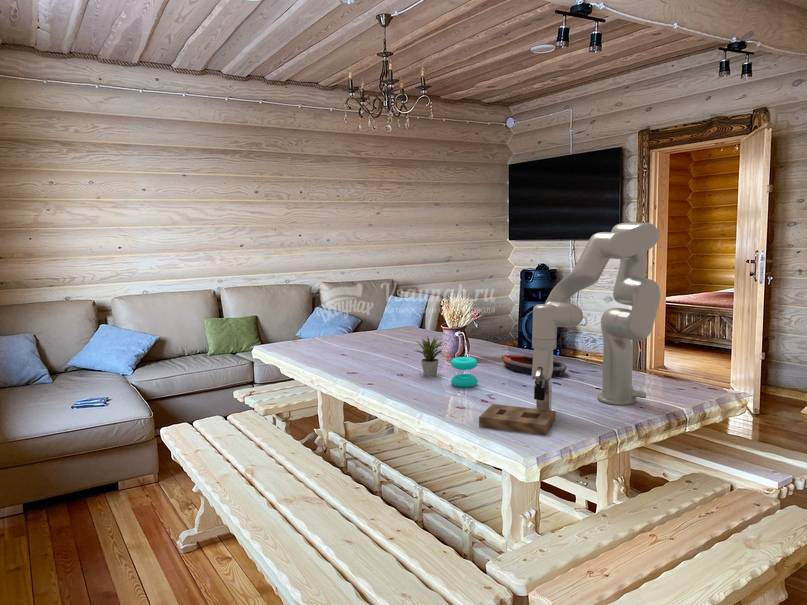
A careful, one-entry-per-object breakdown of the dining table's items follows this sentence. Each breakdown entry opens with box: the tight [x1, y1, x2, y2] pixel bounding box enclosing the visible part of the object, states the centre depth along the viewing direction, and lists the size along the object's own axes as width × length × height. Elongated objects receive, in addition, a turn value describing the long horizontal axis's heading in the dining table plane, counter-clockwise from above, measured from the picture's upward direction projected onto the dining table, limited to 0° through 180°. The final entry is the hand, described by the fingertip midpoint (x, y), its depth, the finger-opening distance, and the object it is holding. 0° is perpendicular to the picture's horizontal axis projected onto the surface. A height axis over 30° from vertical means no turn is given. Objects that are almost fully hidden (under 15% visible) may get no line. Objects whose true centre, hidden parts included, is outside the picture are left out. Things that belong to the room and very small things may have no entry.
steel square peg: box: [535, 377, 553, 411], centre depth 193 cm, size 4×4×11 cm
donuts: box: [450, 356, 478, 388], centre depth 228 cm, size 10×10×10 cm
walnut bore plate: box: [478, 403, 556, 436], centre depth 183 cm, size 20×14×3 cm
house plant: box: [413, 335, 447, 377], centre depth 242 cm, size 14×14×16 cm
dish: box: [501, 354, 567, 377], centre depth 248 cm, size 16×31×5 cm, turn 40°
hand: (542, 395), depth 193 cm, fingers open, 9 cm apart
